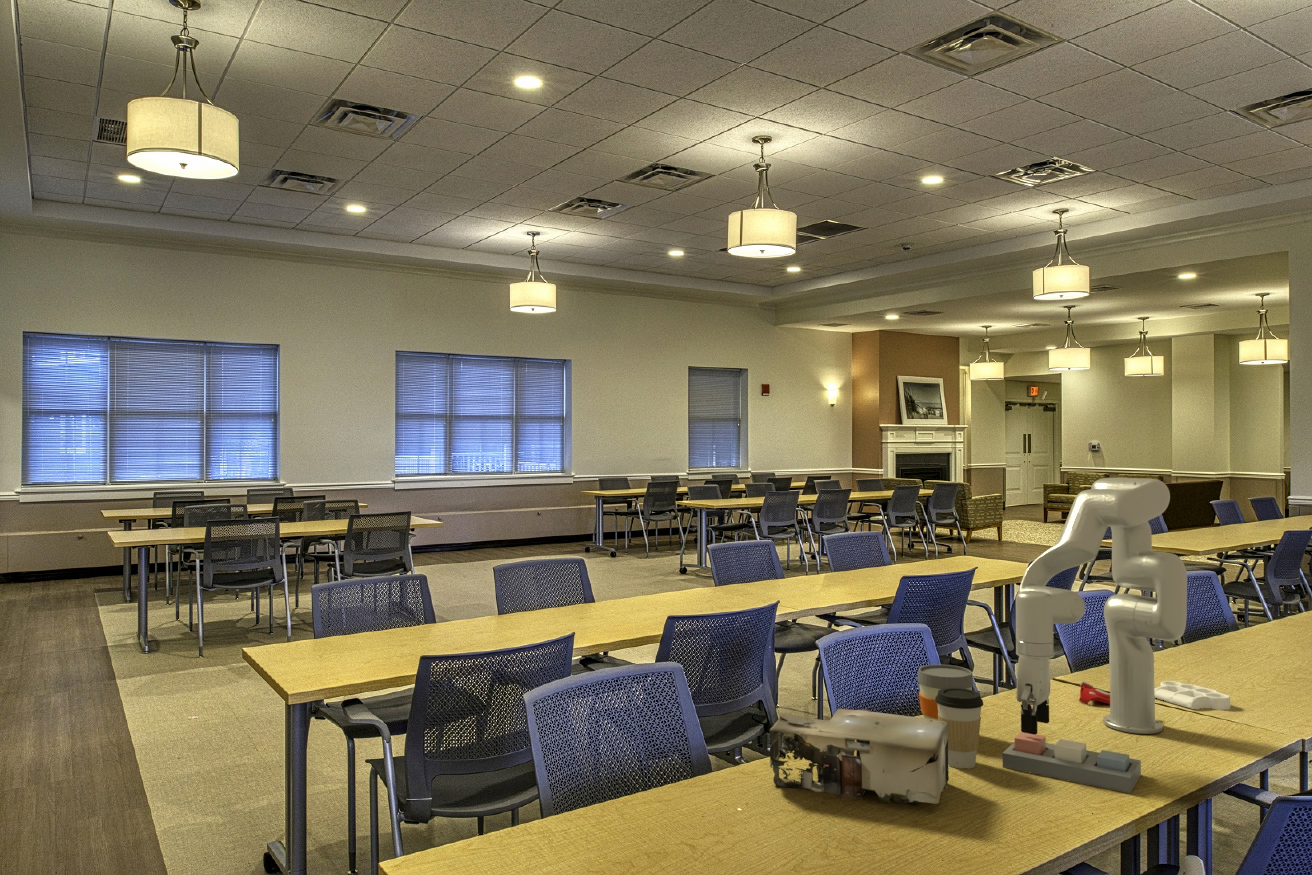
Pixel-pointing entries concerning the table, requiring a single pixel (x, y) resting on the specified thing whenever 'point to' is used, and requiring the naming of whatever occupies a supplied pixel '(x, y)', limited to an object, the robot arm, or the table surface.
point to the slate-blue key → (1113, 760)
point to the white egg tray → (1192, 696)
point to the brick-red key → (1030, 743)
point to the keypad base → (1073, 768)
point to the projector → (865, 755)
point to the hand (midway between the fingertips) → (1035, 727)
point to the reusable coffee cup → (940, 685)
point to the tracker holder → (1092, 694)
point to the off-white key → (1070, 751)
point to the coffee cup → (960, 724)
